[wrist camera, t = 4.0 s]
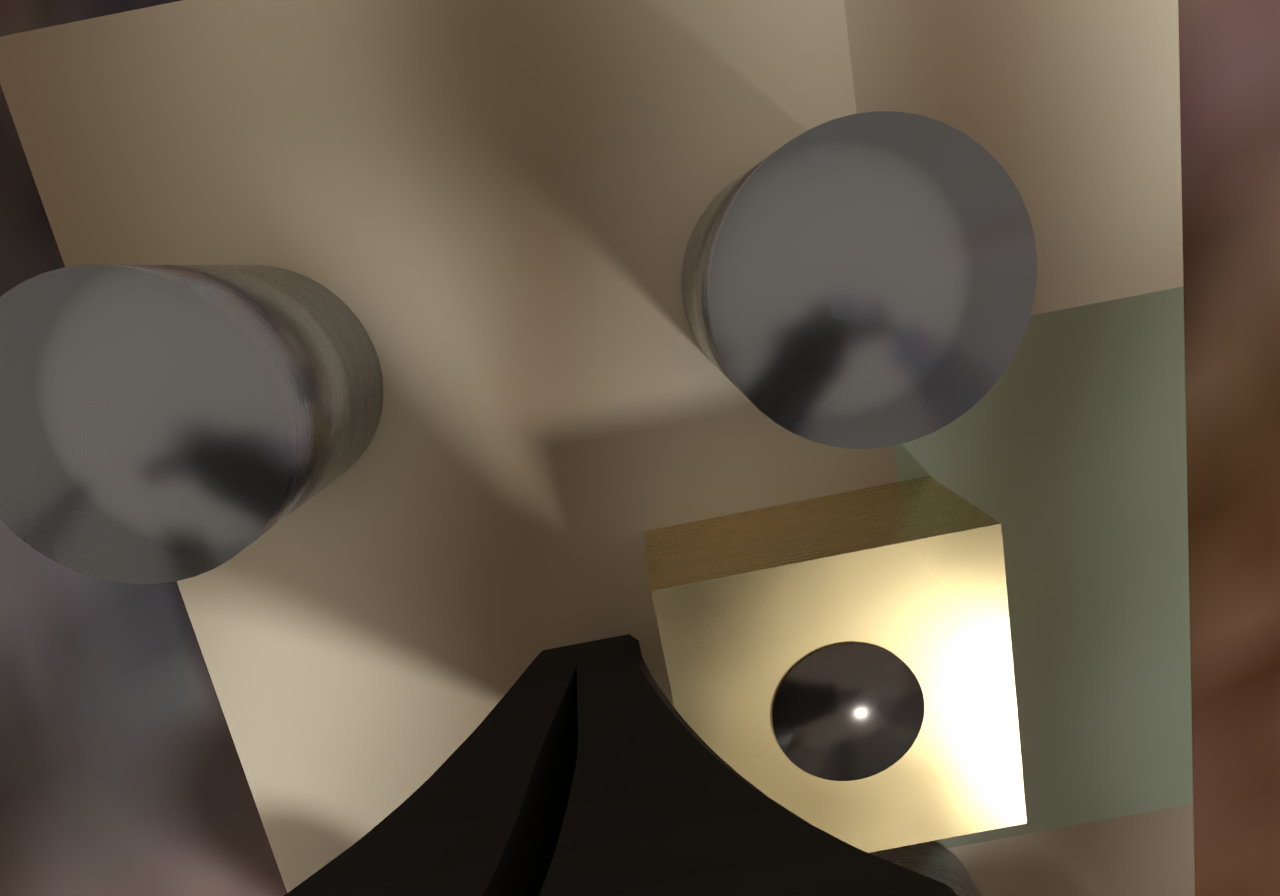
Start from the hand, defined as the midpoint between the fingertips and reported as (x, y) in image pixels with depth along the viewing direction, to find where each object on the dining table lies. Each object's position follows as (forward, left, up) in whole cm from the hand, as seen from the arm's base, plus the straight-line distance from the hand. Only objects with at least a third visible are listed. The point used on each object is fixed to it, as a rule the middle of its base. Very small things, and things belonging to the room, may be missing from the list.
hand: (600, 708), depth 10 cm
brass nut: (-3, 0, -1) cm, 3 cm away
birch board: (-2, 0, -2) cm, 3 cm away
